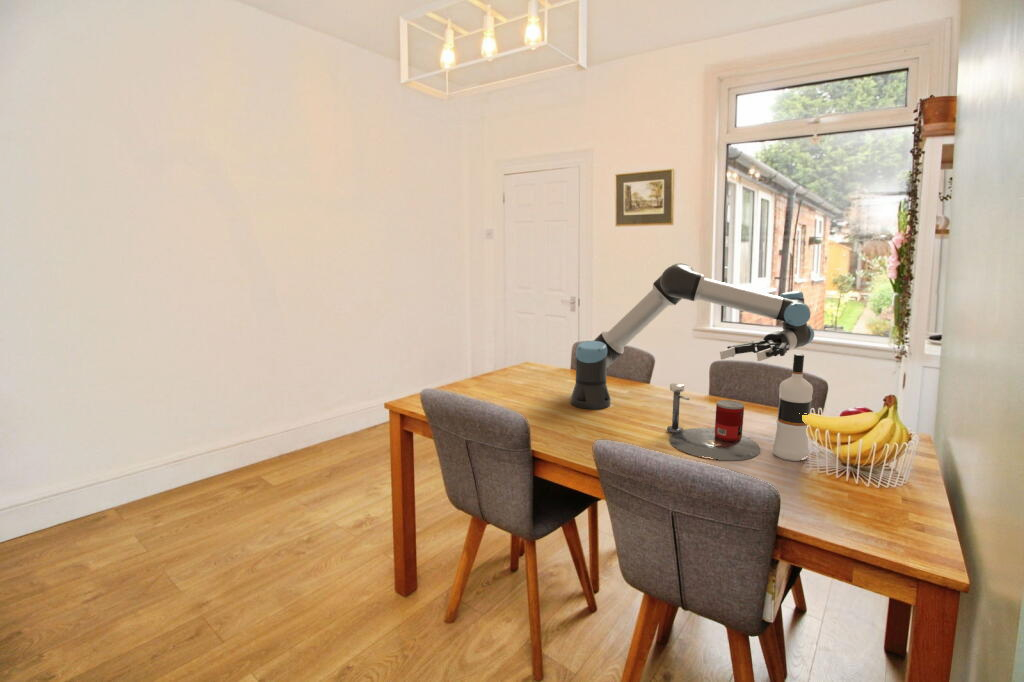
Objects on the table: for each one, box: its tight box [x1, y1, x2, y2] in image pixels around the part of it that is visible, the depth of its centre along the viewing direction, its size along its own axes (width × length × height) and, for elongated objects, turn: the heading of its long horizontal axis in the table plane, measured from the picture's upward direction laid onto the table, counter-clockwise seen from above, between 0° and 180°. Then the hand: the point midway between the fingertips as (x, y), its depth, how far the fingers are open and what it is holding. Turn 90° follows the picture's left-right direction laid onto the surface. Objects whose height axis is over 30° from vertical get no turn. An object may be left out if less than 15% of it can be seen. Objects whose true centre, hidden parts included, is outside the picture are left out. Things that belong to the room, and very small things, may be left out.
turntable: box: [669, 427, 761, 462], centre depth 163 cm, size 26×26×1 cm
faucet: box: [666, 382, 691, 434], centre depth 171 cm, size 7×5×16 cm
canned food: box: [714, 399, 745, 441], centre depth 166 cm, size 8×8×11 cm
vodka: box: [771, 353, 814, 462], centre depth 150 cm, size 9×9×30 cm
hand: (738, 356), depth 170 cm, fingers open, 13 cm apart
